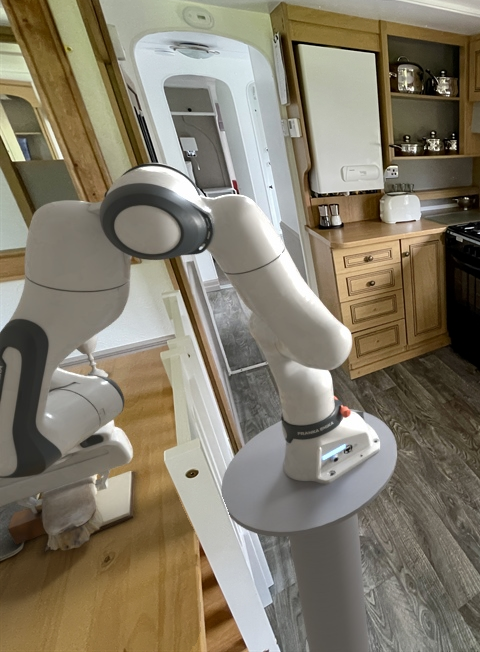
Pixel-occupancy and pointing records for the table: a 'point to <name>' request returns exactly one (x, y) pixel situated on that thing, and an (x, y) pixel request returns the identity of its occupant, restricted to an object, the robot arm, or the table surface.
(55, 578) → the table surface
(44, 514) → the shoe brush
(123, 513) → the tile
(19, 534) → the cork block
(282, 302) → the robot arm
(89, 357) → the chalice
